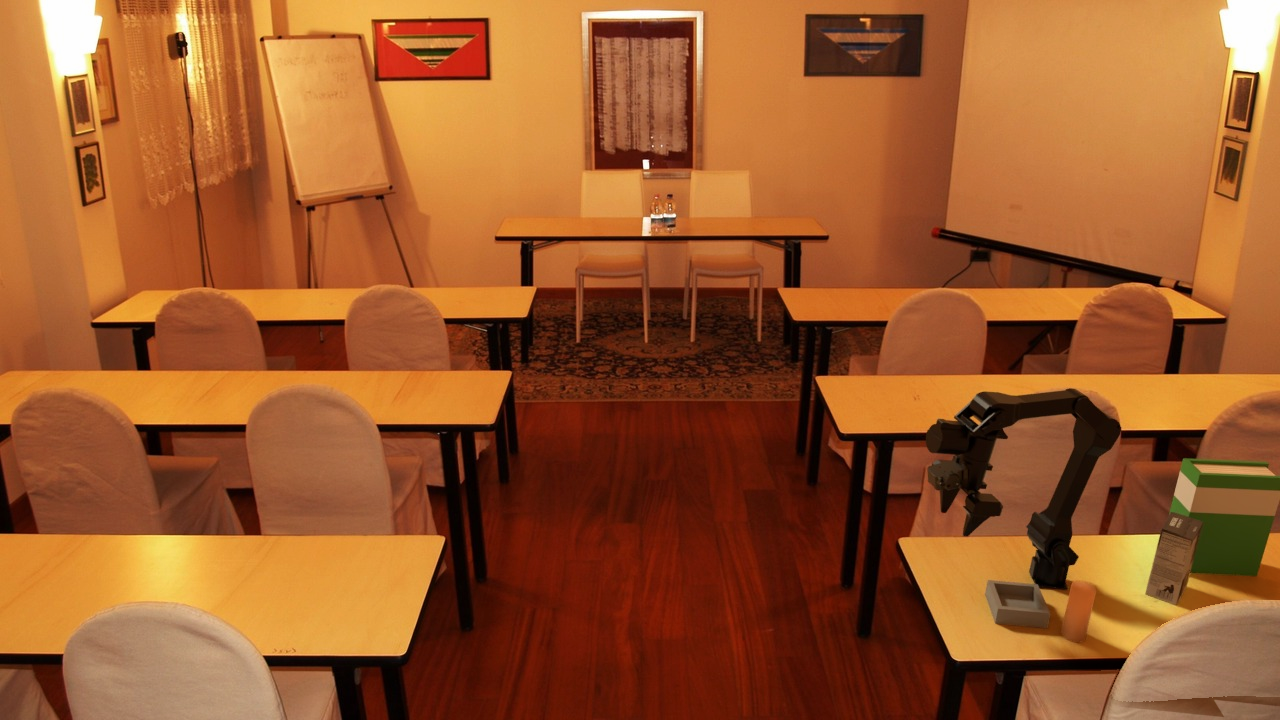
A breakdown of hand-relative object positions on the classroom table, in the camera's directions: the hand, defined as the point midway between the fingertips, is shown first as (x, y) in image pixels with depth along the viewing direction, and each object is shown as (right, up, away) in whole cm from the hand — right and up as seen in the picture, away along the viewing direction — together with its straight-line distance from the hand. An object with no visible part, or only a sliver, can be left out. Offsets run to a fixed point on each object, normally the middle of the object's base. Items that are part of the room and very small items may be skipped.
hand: (954, 524), depth 200 cm
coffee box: (+47, -16, +8) cm, 50 cm away
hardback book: (+62, -12, +18) cm, 65 cm away
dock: (+12, -18, 0) cm, 22 cm away
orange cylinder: (+21, -21, -7) cm, 30 cm away
